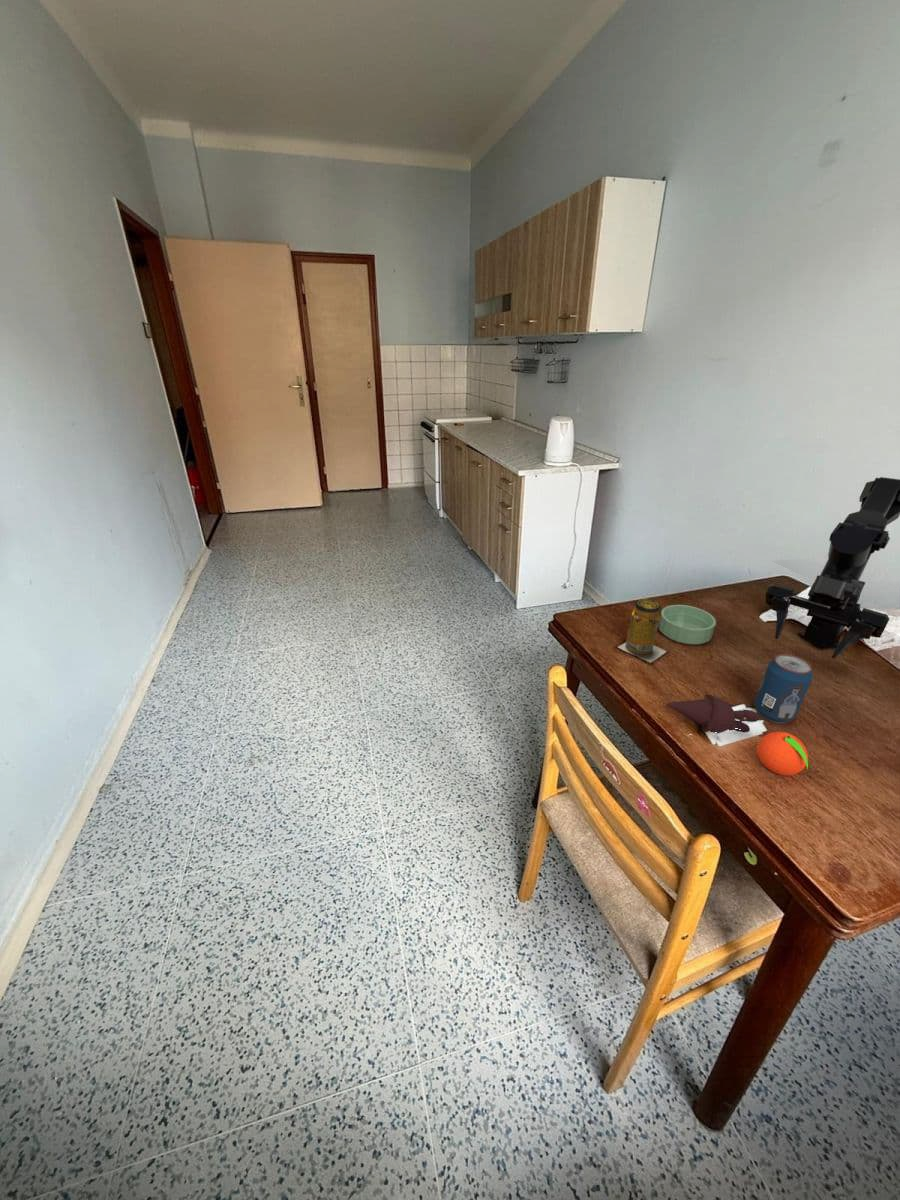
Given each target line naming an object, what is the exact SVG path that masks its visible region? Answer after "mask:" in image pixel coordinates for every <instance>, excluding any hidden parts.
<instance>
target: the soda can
mask: <svg viewBox="0 0 900 1200" xmlns="http://www.w3.org/2000/svg"><path fill="white" fill-rule="evenodd" d="M812 670H813V666H812V665H811V663H810V662H808V661H807V660H806V659H804V658H802V657H799V656H796V655H793V654H787V653H781V654H777V655H775V657H774V659H772V660H771V661H769V663H768V665H767V667H766V670H765V672H764V675H763V678H762V681H761V683H760V685H759V688H758V690H757V694H756V696H755V699H754V705H755V709H756V711H757V712H756V713H757V714H758V715H760V716H761V717H762V718H764V719H765V720H767V721H770V722H772V723H776V724H787V723H789V722H792V721H794V720H795V719H796V718H797V716H798V714H799V711H800V709H801V706H802V704H803V702H804V700H805V697H806V695H807V692H808V690H809V689H810V688H809V687H810V686H811V683H812V680H813V679H814V676H813V672H812Z"/></svg>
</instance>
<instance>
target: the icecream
mask: <svg viewBox="0 0 900 1200" xmlns="http://www.w3.org/2000/svg"><path fill="white" fill-rule="evenodd" d="M666 706H667V707H669V708H670V709H672V710H674V711H676V712H678V713H679V714H681V715H682V716H684V717H686V718H687V719H689V720H691V721H693V722H694V723H696V724H697V725H700V726H701V731H702V732H703V733H708V732H710V733H714V734H718V733H719V734H722V733H725V732H727V731H731V732H732V731H735V732H740V733H749V732H750V730H751V728H750V726H749V724H746V723H745V722H748V723H755V722H758V721H760V718H761V717H760V716H759V713H758V712H756V711H754V710H750V709H743V710H742V709H739V710H734V709H733V708H732V706H731V705H730V704H729V703H728V702H727V701H725V700H723V699H722V698H719V697H716V696H714V695H713V694H704V698H703V699H693V700H681V701H670V702H667V703H666ZM735 728H738V729H735ZM739 729H741V730H739ZM715 732H717V733H715Z"/></svg>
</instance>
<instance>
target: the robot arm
mask: <svg viewBox="0 0 900 1200" xmlns="http://www.w3.org/2000/svg"><path fill="white" fill-rule="evenodd" d="M858 499H859V500H858V501H859V503H861V504H860V509H859V510H858V511H855V512H851V513H848V515H847V516H846V518H845V519H844V521H843V522H839V523H837V525H836V526H835V528H834V529H833V531H832V532H831V533H830V535H829V540H828V541H829V542H830V543H829V548H828V553H827V558H828V559H827V561H826V563H825V565H824V566H823V569H822V571H821V572H820V574H819V575H817V576H816V578H815V580H814V581H813V583H812V585H811V587H810V589H809V591H808V593H807V597H808V598H806V597H802V596H798V595H794V592H795V591H794V590H795V589H794V588H792V587H789V586H785V585H782V584H778V583H772V584H770V585H769V586H768V588H767V590H766V592H765V604H766V605H768V606H770V609H771V610H772V611H773V612H775V613H776V624H775V635H774V640H778V639H779V638H780V637H781V634H782V632H783V628H784V627H785V623H786V620H787V617H788V614H789V608H790V606H794V607H797V608H801V609H804V610H807V613H806V616H807V617H810V618H811V619H810V621H809V622H808V624H807V626H806V628H805V631H800V632H799V633H798V635H799V636H800V637H802V638H803V639H804V640H805V641H807V642H809V643H810V644H812V645H813V646H815V647H816V648H817V649H831V648H835V649H834V650H833V653H832V655H831V659H834V660H835V659H836V658H837V657H838V656H839V655H841V654H842V653H843V652H844V651H845V650H847V649H848V648H849V647H850V646H851V645H853V644H855V643H857V642H858V641H859V640H861V639H865V640H870V639H871V637H873V638H876V639H877V638H878V639H880V638H882V635H883V633H884V632H885V629H886V627H887V625H888V624H889V621H890V617H889V615H888V614H887V613H883V612H880V611H876V610H873V609H868V608H866V607H863V608H862V609H861V605H862V604H861V603H859V600H860V598H861V595H862V592H863V589H864V587H865V585H866V582H865V581H863V580H860V578H861V577H862V576H863V575H862V574H863V573H864V571H865V568H866V566H867V564H868V562H869V560H870V558H871V555H872V554H875V552H879V551H880V550H881V549H883V550H884V549H885V548H886V547H887V545H888V544H889V542H890V539H891V538H890V536H889V535H890V534H889V531H888V530H886V529H887V526H888V525H889V524H891V523H893V522H894V521H896V520H897V519H899V517H900V478H899V479H898V478H893V477H891V478H890V477H884V476H880V477H875V479H874V480H871V481H867V482H866V483H865V484H864V487H863V489H862V491H861V493H860V495H859V498H858ZM845 628H847V629H848V631H847V632H846V633H845V635H844V636H843V638H842V639H841V637H842V634H843V632H844V630H845ZM840 639H841V641H840Z"/></svg>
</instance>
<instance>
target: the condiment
mask: <svg viewBox="0 0 900 1200" xmlns="http://www.w3.org/2000/svg"><path fill="white" fill-rule="evenodd" d="M660 610H661V606H660V604H659V603H658V602H656V601H655V600H653V599H646V598H645V599H638V600H637V601H636V602H635V605H634V608H633V611H632V612H631V615H630V619H629V625H628V629H627V635H626V641H625V642H624V643H622V644H620V645H618V646H617V648H618V649H620V650H622V651H624V652H626V653H628V654H630V655H632V656H635V657H638V658H639V659H641V660H642V661H643V660H644V661H646V662H647V663H650V664H651V663H652V662H654V661H655V660H657V659H659V658H660V657H661V656H663V655H664V654H665V653H667V652H668V651H667V650H665V649H663V648H661V647H660V646H659V647H658V646H657V645H655V642H656V638H657V637H656V635H657V631H658V629H659V627H658V624H659V620H660Z"/></svg>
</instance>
